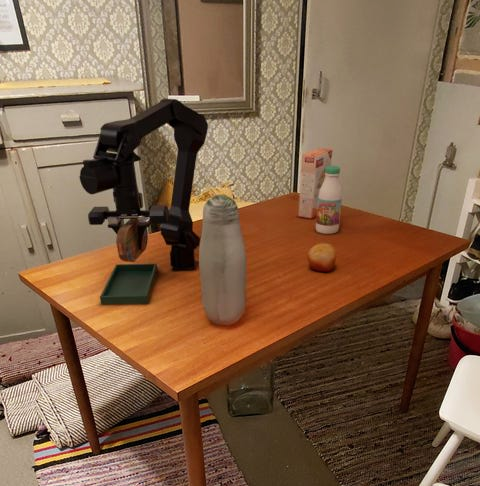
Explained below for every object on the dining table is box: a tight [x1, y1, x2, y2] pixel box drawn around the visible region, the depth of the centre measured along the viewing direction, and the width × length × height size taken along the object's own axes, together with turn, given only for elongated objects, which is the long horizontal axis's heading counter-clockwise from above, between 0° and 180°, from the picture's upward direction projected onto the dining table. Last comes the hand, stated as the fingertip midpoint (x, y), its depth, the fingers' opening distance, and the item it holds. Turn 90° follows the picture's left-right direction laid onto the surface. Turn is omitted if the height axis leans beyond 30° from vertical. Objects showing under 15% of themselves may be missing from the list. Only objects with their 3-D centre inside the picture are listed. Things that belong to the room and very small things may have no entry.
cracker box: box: [297, 147, 333, 220], centre depth 176 cm, size 14×6×21 cm, turn 149°
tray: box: [99, 263, 159, 306], centre depth 131 cm, size 12×21×2 cm, turn 1°
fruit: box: [306, 242, 337, 272], centre depth 138 cm, size 8×8×8 cm
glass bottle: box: [198, 194, 247, 326], centre depth 107 cm, size 10×10×28 cm
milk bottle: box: [315, 165, 343, 235], centre depth 160 cm, size 8×8×20 cm
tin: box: [115, 219, 149, 263], centre depth 122 cm, size 15×3×8 cm, turn 169°
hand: (134, 249), depth 124 cm, fingers closed on tin, 3 cm apart
